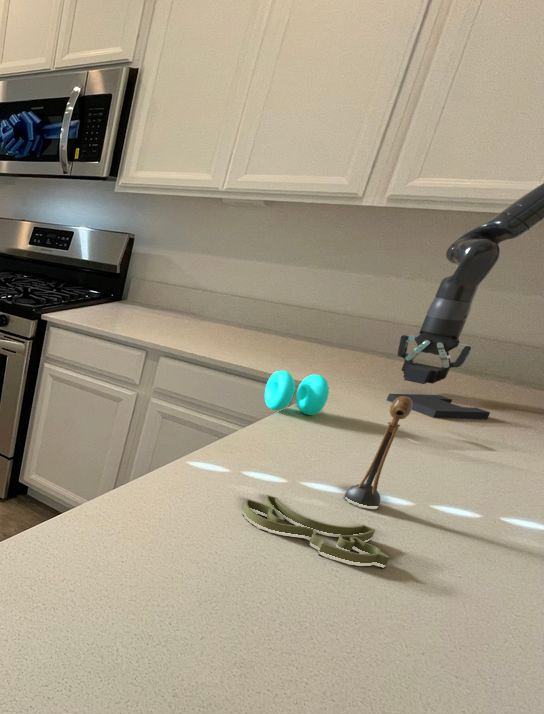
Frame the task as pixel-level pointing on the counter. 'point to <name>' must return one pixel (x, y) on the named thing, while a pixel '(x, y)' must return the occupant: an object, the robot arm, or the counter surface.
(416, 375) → the tab pad
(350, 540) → the cookie cutter
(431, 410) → the notch pad
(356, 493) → the wooden tabletop sculpture
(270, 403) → the donuts
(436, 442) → the counter surface
